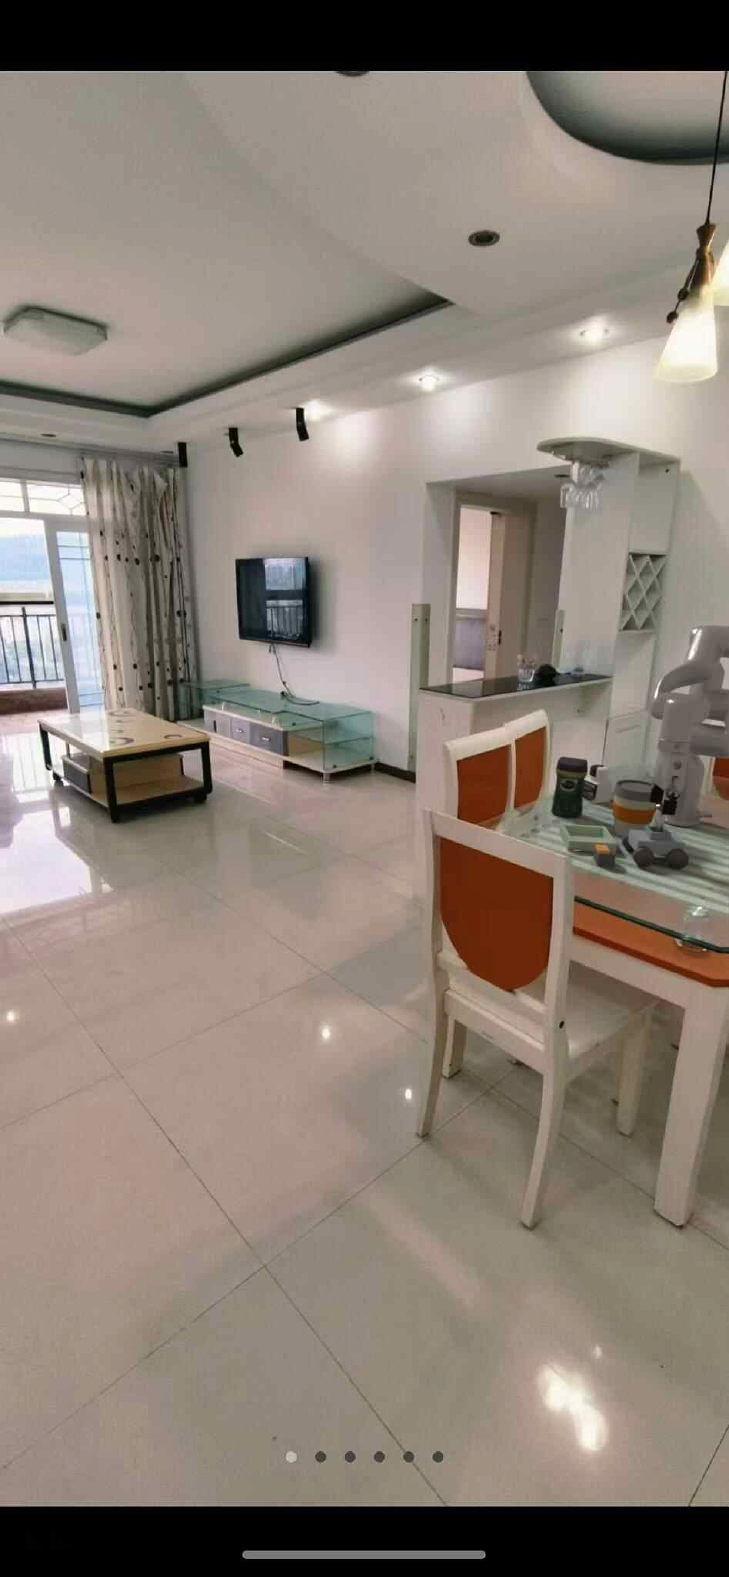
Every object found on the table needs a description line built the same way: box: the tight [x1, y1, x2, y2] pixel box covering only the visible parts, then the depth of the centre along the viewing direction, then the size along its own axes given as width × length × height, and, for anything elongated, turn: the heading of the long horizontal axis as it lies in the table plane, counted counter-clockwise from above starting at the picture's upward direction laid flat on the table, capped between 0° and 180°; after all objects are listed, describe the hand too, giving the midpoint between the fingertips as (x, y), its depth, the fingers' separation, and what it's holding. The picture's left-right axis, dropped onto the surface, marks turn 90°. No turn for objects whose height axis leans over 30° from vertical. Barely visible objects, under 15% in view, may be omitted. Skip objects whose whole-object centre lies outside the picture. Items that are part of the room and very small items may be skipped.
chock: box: [592, 844, 617, 868], centre depth 177 cm, size 4×4×4 cm
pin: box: [652, 802, 666, 832], centre depth 178 cm, size 4×4×9 cm
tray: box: [558, 823, 618, 854], centre depth 190 cm, size 13×13×3 cm
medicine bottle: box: [583, 764, 614, 805], centre depth 225 cm, size 7×7×12 cm
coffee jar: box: [550, 756, 589, 818], centre depth 210 cm, size 10×8×19 cm
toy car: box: [621, 825, 690, 870], centre depth 180 cm, size 14×12×8 cm
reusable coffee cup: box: [612, 779, 656, 838], centre depth 196 cm, size 13×13×15 cm
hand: (661, 808), depth 177 cm, fingers open, 9 cm apart
